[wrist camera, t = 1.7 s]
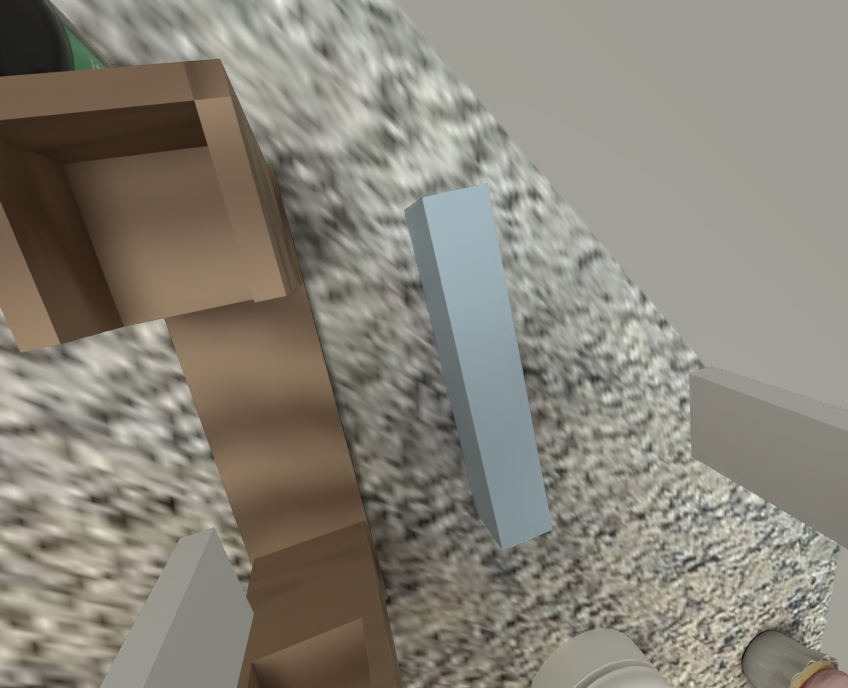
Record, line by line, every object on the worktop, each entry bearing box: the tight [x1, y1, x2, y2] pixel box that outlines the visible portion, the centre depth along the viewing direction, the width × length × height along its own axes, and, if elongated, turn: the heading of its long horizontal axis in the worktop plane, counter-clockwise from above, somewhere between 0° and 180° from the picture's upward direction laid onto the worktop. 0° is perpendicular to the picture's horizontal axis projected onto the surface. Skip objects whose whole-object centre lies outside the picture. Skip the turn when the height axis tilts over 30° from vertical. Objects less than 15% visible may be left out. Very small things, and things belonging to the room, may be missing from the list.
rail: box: [404, 183, 553, 551], centre depth 27 cm, size 24×4×5 cm, turn 14°
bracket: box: [0, 59, 403, 688], centre depth 20 cm, size 31×8×13 cm, turn 12°
